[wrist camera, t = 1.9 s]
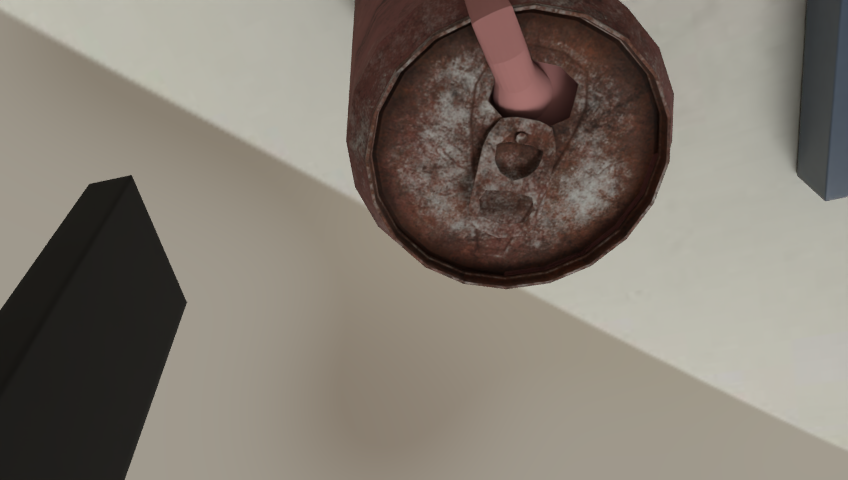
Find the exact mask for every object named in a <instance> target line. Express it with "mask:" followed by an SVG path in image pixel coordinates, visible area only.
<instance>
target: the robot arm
mask: <svg viewBox="0 0 848 480" xmlns="http://www.w3.org/2000/svg"><path fill="white" fill-rule="evenodd" d="M186 303H187V302H186V300H185V297H184V295H183V293H182V290H181V288H180V286H179V283H178V281H177V279H176V276H175V274H174V272H173V270H172V267H171V265H170V263H169V260H168V258H167V256H166V253H165V251H164V249H163V246H162V244H161V242H160V240H159V237H158V235H157V233H156V230H155V228H154V226H153V223H152V221H151V219H150V216H149V214H148V212H147V210H146V207H145V205H144V203H143V200H142V198H141V196H140V194H139V191H138V189H137V186H136V184H135V182H134V180H133V177H132V175H130V176H125V177H120V178H116V179H111V180H107V181H102V182H97V183H92V184H89V185H88V187H87V188H86V189H85V191H84V192H83V194H82V196H81V197H80V198H79V199H78V201H77V202H76V204H75V205H74V206H73V208H72V209H71V211H70V212H69V214H68V215H67V217H66V218H65V219H64V221H63V222H62V224H61V225H60V226H59V228H58V229H57V231H56V232H55V233H54V235H53V236H52V238H51V239H50V240H49V242H48V244H47V245H46V246H45V248H44V249H43V251H42V252H41V253H40V255H39V256H38V257H37V259H36V260H35V262H34V263H33V265H32V266H31V267H30V269H29V270H28V272H27V273H26V275H25V276H24V277H23V279H22V280H21V282H20V283H19V284H18V286H17V287H16V289H15V290H14V291H13V293H12V294H11V296H10V297H9V299H8V300H7V302H6V303H5V304H4V306H3V307H2V309H1V310H0V480H125V477H126V474H127V471H128V468H129V466H130V463H131V460H132V457H133V454H134V451H135V449H136V446H137V443H138V440H139V437H140V434H141V431H142V429H143V426H144V423H145V420H146V417H147V414H148V411H149V408H150V406H151V403H152V400H153V397H154V394H155V391H156V389H157V386H158V383H159V380H160V377H161V374H162V371H163V368H164V366H165V363H166V360H167V357H168V354H169V351H170V349H171V346H172V343H173V340H174V337H175V334H176V332H177V329H178V326H179V323H180V320H181V317H182V315H183V312H184V309H185V306H186Z"/></svg>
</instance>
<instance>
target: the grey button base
mask: <svg viewBox="0 0 848 480" xmlns="http://www.w3.org/2000/svg"><path fill="white" fill-rule="evenodd" d="M797 176H798V177H799V178H800V179H801V180H803V181H804V182H805V183H806V184H807V185H808V186H809V187H810V188H811V189H812V190H813V191H815V192H816V193H817V194H818V195H819V196H820V197H821V198H822V199H823V200H824V201H829V200H834V199H839V198H844V197H848V0H807V11H806V28H805V45H804V63H803V80H802V97H801V115H800V132H799V149H798V167H797Z"/></svg>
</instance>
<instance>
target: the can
mask: <svg viewBox="0 0 848 480" xmlns="http://www.w3.org/2000/svg"><path fill="white" fill-rule="evenodd" d="M673 101H674V93H673V90H672V87H671V84H670V81H669V77H668V74H667V71H666V68H665V65H664V62H663V58H662V55H661V52H660V49H659V47H658V46H657V44H656V43H655V42H654V41H653V39H652V38H651V37H650V36H649V34H648V33H647V32H646V30H645V29H644V28H643V27H642V25H641V24H640V23H639V22H638V20H637V19H636V18H635V17H634V15H633V14H632V13H631V12H630V10H629V9H628V8H627V7H626V6H625V5H624V4H622V3H621V2H620V1H619V0H355V11H354V27H353V43H352V59H351V74H350V90H349V106H348V122H347V138H346V142H347V147H348V152H349V157H350V163H351V168H352V173H353V178H354V183H355V188H356V189H357V191H358V193H359V194H360V196H361V198H362V200H363V201H364V203H365V205H366V206H367V208H368V210H369V211H370V213H371V215H372V217H373V218H374V220H375V222H376V223H377V225H378V227H380V228H381V229H382V230H383V231H384V232H385V233H387V234H388V235H389V236H390V237H391V238H392V239H393V240H395V241H396V242H397V243H398V244H399V245H401V246H402V247H403V248H404V249H405V250H406V251H407V252H408V253H410V254H411V255H412V256H413V257H414V258H416V259H417V260H418V261H419V262H420V263H421V264H422V265H424V266H425V267H426V268H429V269H431V270H433V271H436V272H438V273H440V274H443V275H445V276H447V277H450V278H452V279H454V280H457V281H459V282H461V283H463V284H470V285H478V286H486V287H494V288H502V289H510V288H518V287H525V286H532V285H539V284H546V283H551V282H553V281H556V280H558V279H561V278H563V277H565V276H568V275H570V274H573V273H575V272H577V271H580V270H582V269H585V268H587V267H589V266H591V265H593V264H594V263H595V262H597V261H598V260H599V259H601V258H602V257H603V256H605V255H606V254H607V253H609V252H610V251H611V250H612V249H614V248H615V247H616V246H618V245H619V244H620V243H622V242H623V241H624V240H626V239H627V238H628V236H629V235H630V234H631V232H632V231H633V230H634V228H635V227H636V226H637V224H638V223H639V222H640V221H641V219H642V218H643V217H644V215H645V214H646V213H647V211H648V210H649V209H650V207H651V206H652V205H653V203H654V201H655V198H656V196H657V193H658V191H659V188H660V185H661V183H662V180H663V177H664V175H665V172H666V169H667V167H668V164H669V159H670V146H671V143H672V126H673Z"/></svg>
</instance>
